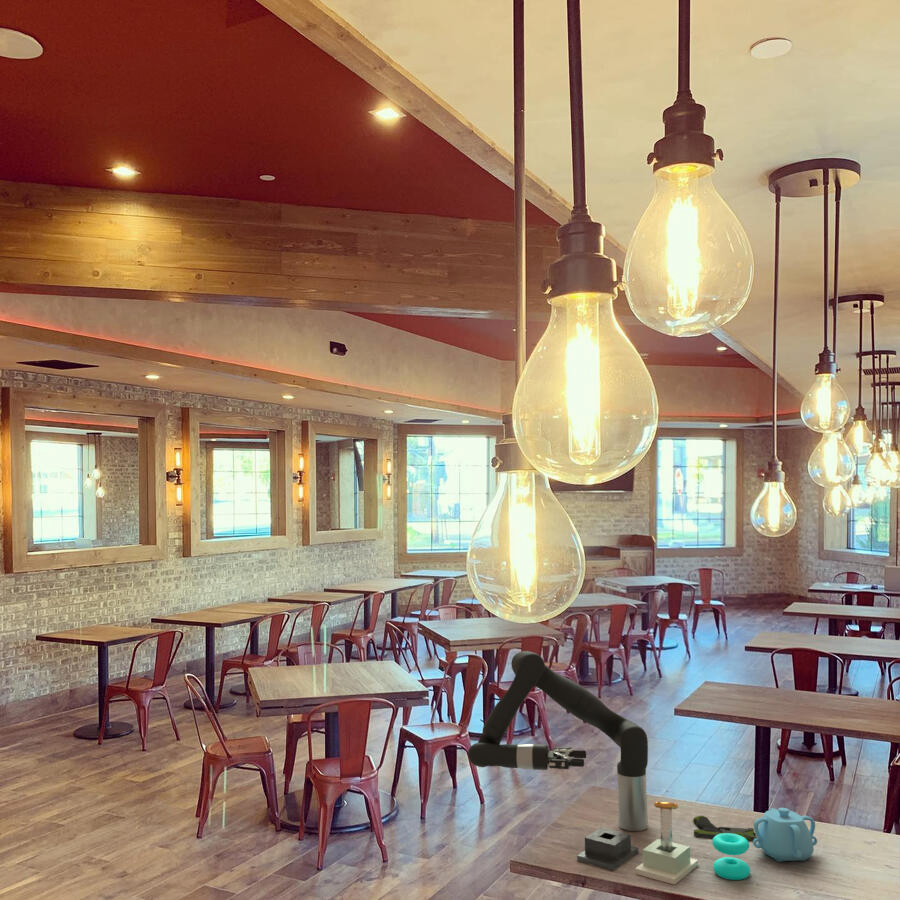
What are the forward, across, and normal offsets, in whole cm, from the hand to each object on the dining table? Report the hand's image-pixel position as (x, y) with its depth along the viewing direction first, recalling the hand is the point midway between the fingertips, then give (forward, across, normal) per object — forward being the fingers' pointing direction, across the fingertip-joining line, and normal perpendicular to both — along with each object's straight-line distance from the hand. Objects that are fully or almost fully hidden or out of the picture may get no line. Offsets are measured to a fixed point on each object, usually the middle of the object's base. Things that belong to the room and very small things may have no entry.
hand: (585, 758), depth 268 cm
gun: (+41, +23, +29) cm, 56 cm away
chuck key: (+23, -9, +26) cm, 36 cm away
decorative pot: (+58, +7, +29) cm, 65 cm away
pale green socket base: (+23, -9, +28) cm, 37 cm away
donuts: (+41, -9, +28) cm, 51 cm away
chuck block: (+6, -3, +28) cm, 29 cm away
